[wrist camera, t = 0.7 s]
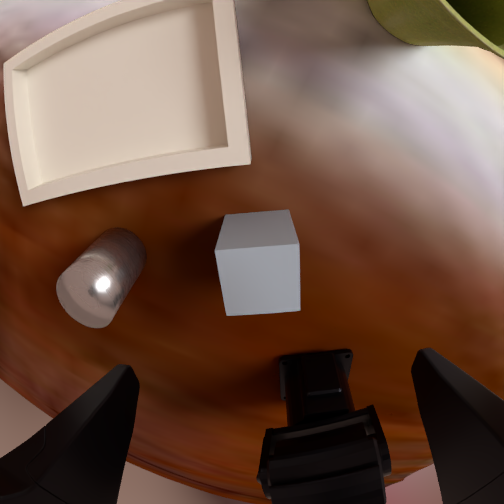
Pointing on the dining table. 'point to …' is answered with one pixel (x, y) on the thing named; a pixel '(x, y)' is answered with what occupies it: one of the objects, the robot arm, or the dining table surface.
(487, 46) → the plant pot
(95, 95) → the parts tray
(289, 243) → the painted block
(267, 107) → the dining table surface
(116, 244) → the metal cylinder
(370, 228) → the dining table surface
